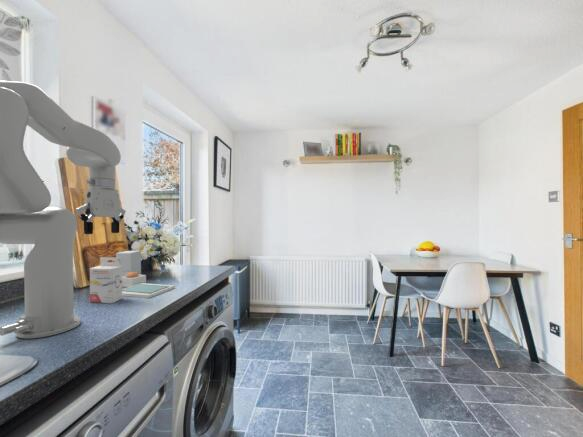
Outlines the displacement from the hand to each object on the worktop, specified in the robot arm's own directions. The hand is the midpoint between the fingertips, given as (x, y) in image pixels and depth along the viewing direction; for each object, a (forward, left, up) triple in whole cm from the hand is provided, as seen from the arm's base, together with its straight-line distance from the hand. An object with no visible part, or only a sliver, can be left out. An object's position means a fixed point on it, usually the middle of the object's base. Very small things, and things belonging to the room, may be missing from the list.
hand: (102, 233), depth 96 cm
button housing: (+18, +6, -23) cm, 30 cm away
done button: (+18, +6, -21) cm, 28 cm away
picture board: (+11, -7, -23) cm, 27 cm away
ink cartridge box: (-2, -3, -23) cm, 24 cm away
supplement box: (+26, +16, -23) cm, 39 cm away
